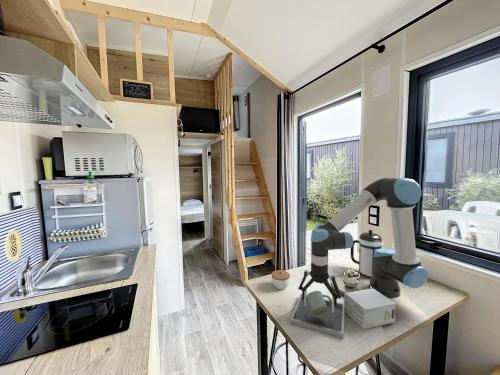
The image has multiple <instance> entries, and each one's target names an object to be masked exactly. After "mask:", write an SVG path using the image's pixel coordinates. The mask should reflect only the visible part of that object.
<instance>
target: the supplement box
mask: <svg viewBox="0 0 500 375" xmlns="http://www.w3.org/2000/svg"><path fill="white" fill-rule="evenodd" d="M343 294H344V297H343V299H344V300H343V301H344V302H343V304H344V307H345V314H347V315H348V316H349V317H350V318H351V319H352V320H353V321H354V322H356V323H357V324H358V326H359V327H360V328H362V329H363V330H366V329H370V328H371V329H372V328H374V327H380V326H383V325H389V324H394V323H395V322H396V306H397V304H396V302H394V301H393V300H392V299H391V298H388V296H384V295H382V294H381V293H379V292H378V291H376V290H375V289H373V288H366V289H361V290H356V291H350V292H344V293H343Z"/></svg>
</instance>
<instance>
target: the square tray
mask: <svg viewBox="0 0 500 375" xmlns="http://www.w3.org/2000/svg"><path fill="white" fill-rule="evenodd" d="M324 300H325V303H326V305H327V307H330V306H331V304H330V301H329V299H327V298H324ZM345 318H346V312H345V307H344V302H343V303H342V302H339V301H337V305H334V313H332V307H331V308H329V309H327V311H326V312H325V313H323V314H320V315H315V314H313V312H312V310H311V308H310V305H309V303H308V300H307V304H306V306H304V298H303V297H302V293H300V294H299V297H298V300H297V302H296V304H295V306H294V309H293V311H292V314H291V316H290V319H289V324H291V325H294V326H297V327H301V328H304V329H307V330H311V331H315V332H318V333H320V334H321V333H322V334H326V335H328V336H332V337H335V338H338V339H342V340H344V339H345V338H344V337H345V321H346V320H345Z"/></svg>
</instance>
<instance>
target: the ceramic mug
mask: <svg viewBox="0 0 500 375" xmlns="http://www.w3.org/2000/svg"><path fill="white" fill-rule="evenodd" d="M306 298H307V300H308V303H309V305H310V308H311V310H312V312H313V314H315V315H320V314H323V313H325V312H326V311H327V309H329V308H331V307H332V297H330V296H328V295H326V294H323V293H322V291H321V290H314V291H311V292H308V293H307V296H306ZM324 299H327V300H329V301H330V304H331V306H330V307H327V305H326V303H325V300H324Z"/></svg>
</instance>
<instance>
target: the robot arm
mask: <svg viewBox="0 0 500 375" xmlns="http://www.w3.org/2000/svg"><path fill="white" fill-rule="evenodd" d="M421 197H422V190H421V186H420V184H418V182H417V181H415V180H414V179H412V178H411V179H410V178H404V177H401V178H400V177H393V178H392V177H383V178H379V179H376V180H375V181H373V182H371V183H369V184H368V185H367V186H365V187H364V188H363V189H362V190H361V191H360V194H359V195H357V197H355V198H354V199H353V200H352V201H351V202H349V203H348V204H346V206H345V207H343V208H342V209H341V210H340V211H338V212H337V213H336V214H335V215H334V216H333V217H331V218H330V219H329V220H328V221H327V222H325V223H324V224H321V223H320V224H317V225H316V226H315V228H314V229H312V230H311V235H310V244H311V245H310V250H311V252H310V261H311V262H310V271H309V270H308V269H305V270H304V272H303V277H302V280H301V282H300V284H299V285H298V288H297V289H298V290H299V291H301V294H302V297H303V298H304V306H306V304H307V298H306V296H307V295H308V289H309V287H310V286H311V285H312V284H313V283H314V282H315V283H319V284H320V285H322V284H323V285H324V286H325V287H326V289H327V290H328V292H329V293H330V295H331V299H332V313H334V305H337V302H338V299H339V300H341V299H342V293H341V291H340V288H339V286H338V284H337V281H336V275H335V274H332V275H330V274H329V273H328V272H329V251H331V250H332V251H334V250H335V251H336V250H346V249H351V247H352V246H353V241H354V238H353V235H352V234H351V233H350V232H348V231H347V232H346V231H342V230H343V229H344V228H345V227H346V226H347V225H349V224H350V223H351V222H352V221H353V220H355V219H356V218H357V217H358V216H359V215H361V214H362V213H363V212H364V211H365V210H366V209H367V208H369V207H370V206H371V205H376V204H377V203H378V202H380V201H386V207H387V208H388V209H390V212H391V213H390V214H391V223H392V234H393V243H394V244H393V245H394V249H388V248H381V249H377V250H375V251H374V256H373V276H372V277H371V278H370V280H369V285H370V286H371V287H372V288H373V289H375V290H376V291H378V292H379V293H381V294H382V295H384V296H386V297H391V298H392V297H393V298H394V297H399V296H401V292H402V291H401V290H402V288H401V286H400V284H399V283H401V284H403V285H404V286H407V287H409V288H410V289H419V288H421V287H422V286H424V285H425V284H426V283H427V282H428V281H427V280H428V278H429V272H428V270H427V269H426V268H425V267H423V266H422V265H421V264H422V262H421V258H420V257H418V255H417V250H416V239H415V238H416V236H415V228H414V226H415V225H414V218H413V217H414V215H413V209H414V208H415V207H416V206H417V204H418V202H419V201H420V200H421V199H420V198H421ZM341 231H342V232H341ZM309 276H310V277H311V278H310V279H309V280H308V281H307V283H306V284H305V285H304V283H305V282H306V279H307V277H309ZM329 280H330V281H331V283H332V285H333V287H332V285H331V284H330V282H329ZM370 286H369V287H370ZM333 288H334V289H333Z"/></svg>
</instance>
